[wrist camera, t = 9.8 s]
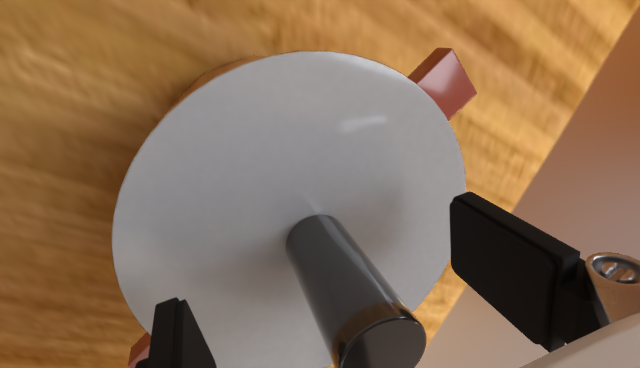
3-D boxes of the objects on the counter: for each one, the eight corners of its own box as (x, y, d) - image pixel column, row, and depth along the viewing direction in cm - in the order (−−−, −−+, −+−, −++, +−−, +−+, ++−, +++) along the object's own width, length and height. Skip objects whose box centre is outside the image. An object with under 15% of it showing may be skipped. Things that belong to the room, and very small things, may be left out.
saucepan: (58, 219, 18) (-21, 325, 11) (315, -41, 17) (392, -90, 10) (242, 325, 24) (261, 434, 17) (437, 136, 23) (533, 175, 17)
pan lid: (20, 257, 11) (-161, 489, 6) (323, -48, 11) (471, -146, 5) (297, 396, 18) (348, 568, 12) (494, 209, 17) (644, 294, 12)
